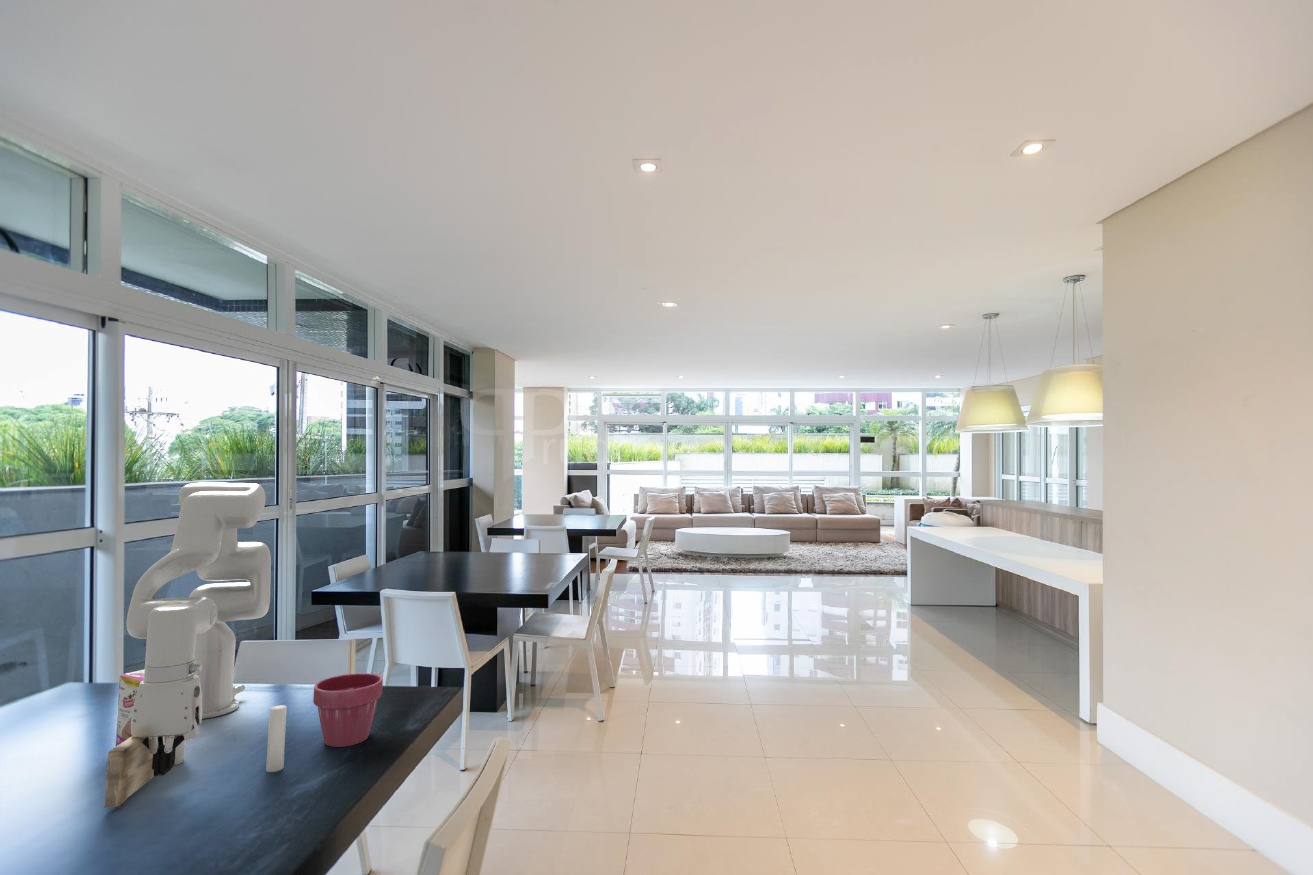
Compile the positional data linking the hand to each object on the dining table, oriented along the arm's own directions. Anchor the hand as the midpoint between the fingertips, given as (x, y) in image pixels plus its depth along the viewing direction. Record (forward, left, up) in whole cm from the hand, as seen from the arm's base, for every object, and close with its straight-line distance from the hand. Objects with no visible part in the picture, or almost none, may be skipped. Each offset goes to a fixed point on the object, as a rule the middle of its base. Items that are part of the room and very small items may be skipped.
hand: (162, 772), depth 119 cm
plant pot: (-28, +19, -4) cm, 34 cm away
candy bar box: (-15, -19, -4) cm, 24 cm away
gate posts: (-12, +2, -4) cm, 13 cm away
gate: (-1, -5, -3) cm, 6 cm away
